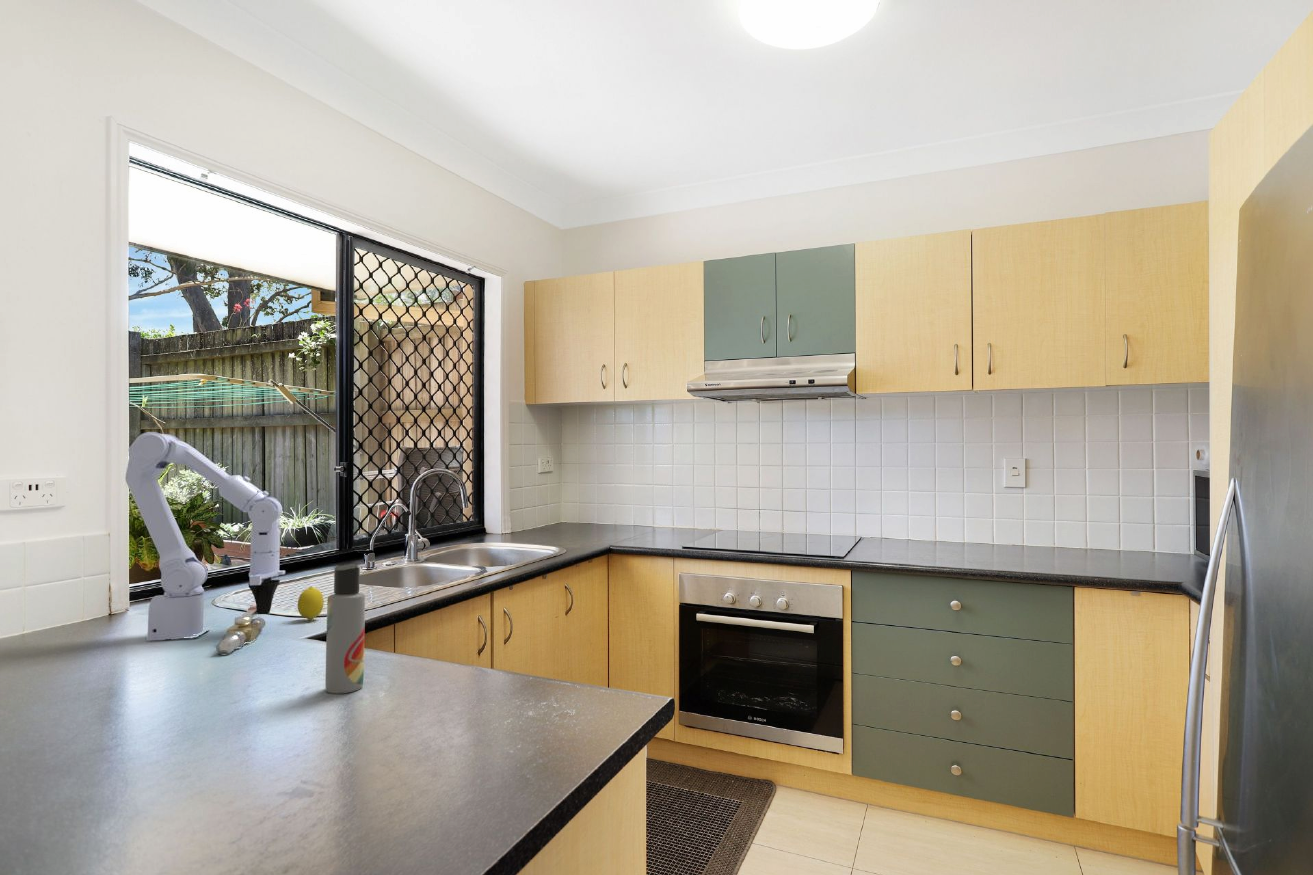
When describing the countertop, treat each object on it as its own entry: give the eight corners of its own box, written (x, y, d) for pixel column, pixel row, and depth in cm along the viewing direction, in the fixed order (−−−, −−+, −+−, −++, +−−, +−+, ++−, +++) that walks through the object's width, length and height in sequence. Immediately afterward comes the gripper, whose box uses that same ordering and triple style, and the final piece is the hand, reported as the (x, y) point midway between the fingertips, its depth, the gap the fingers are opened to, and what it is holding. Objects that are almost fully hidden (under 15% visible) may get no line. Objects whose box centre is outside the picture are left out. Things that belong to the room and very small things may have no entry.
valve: (236, 657, 135) (237, 635, 135) (211, 659, 134) (211, 636, 134) (268, 632, 156) (269, 612, 156) (247, 633, 155) (247, 613, 155)
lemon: (312, 623, 162) (313, 588, 163) (291, 622, 164) (292, 588, 164) (328, 618, 168) (329, 585, 168) (308, 617, 169) (308, 584, 169)
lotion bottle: (371, 686, 115) (373, 563, 116) (342, 696, 110) (345, 568, 111) (346, 681, 118) (348, 562, 119) (317, 691, 113) (320, 566, 114)
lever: (249, 624, 144) (249, 618, 144) (232, 625, 143) (233, 619, 143) (263, 611, 158) (264, 605, 158) (248, 612, 157) (249, 606, 157)
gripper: (276, 554, 150) (274, 618, 149) (293, 548, 164) (291, 606, 163) (239, 555, 148) (237, 620, 147) (259, 549, 162) (258, 608, 161)
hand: (263, 613), depth 155 cm, fingers closed, pressing on lever
